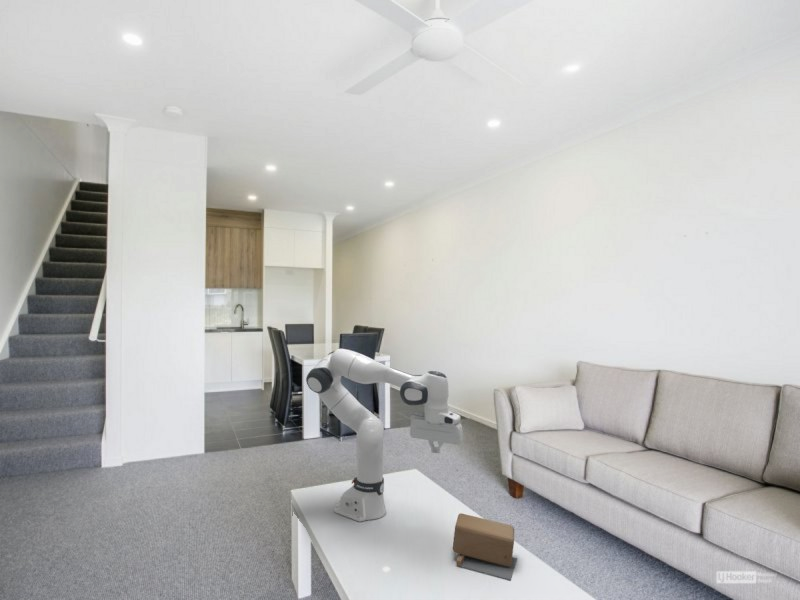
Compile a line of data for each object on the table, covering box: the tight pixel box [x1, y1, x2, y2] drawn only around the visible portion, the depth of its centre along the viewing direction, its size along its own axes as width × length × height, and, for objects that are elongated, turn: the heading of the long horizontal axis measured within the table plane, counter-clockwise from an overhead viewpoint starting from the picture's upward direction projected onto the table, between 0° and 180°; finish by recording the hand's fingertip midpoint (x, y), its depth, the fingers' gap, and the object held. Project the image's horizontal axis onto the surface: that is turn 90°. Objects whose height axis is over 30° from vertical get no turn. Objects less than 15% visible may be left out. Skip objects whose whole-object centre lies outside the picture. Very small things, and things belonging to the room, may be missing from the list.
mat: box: [455, 554, 518, 581], centre depth 147 cm, size 18×13×2 cm
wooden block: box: [452, 513, 515, 567], centre depth 151 cm, size 10×10×20 cm
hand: (435, 452), depth 160 cm, fingers closed
